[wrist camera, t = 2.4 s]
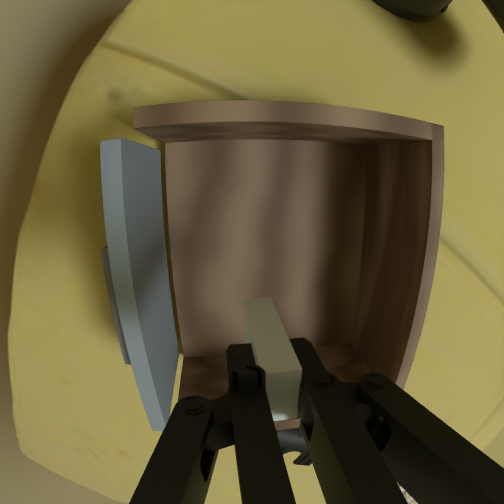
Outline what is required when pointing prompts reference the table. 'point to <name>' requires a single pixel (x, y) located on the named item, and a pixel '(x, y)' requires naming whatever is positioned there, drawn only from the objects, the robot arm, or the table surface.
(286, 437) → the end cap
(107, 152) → the panel
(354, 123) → the box
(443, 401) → the table surface
